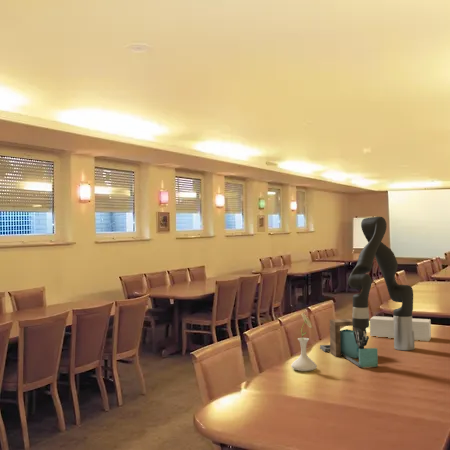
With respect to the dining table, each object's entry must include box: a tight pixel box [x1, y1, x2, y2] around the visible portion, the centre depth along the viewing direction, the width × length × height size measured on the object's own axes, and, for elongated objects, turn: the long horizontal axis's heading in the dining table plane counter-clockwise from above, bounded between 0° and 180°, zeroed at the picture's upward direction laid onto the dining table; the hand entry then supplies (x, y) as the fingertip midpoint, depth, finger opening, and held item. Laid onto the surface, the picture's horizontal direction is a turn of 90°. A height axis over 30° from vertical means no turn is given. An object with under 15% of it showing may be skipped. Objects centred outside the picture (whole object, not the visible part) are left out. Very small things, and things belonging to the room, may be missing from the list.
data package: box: [340, 328, 359, 359], centre depth 251 cm, size 12×4×12 cm, turn 28°
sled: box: [341, 347, 379, 368], centre depth 243 cm, size 8×30×8 cm, turn 8°
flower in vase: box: [290, 312, 318, 372], centre depth 228 cm, size 13×11×25 cm
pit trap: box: [319, 344, 330, 353], centre depth 266 cm, size 18×8×2 cm, turn 98°
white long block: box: [369, 315, 432, 342], centre depth 294 cm, size 32×11×11 cm, turn 63°
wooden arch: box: [329, 318, 356, 358], centre depth 255 cm, size 15×8×17 cm, turn 98°
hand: (361, 354), depth 236 cm, fingers closed
